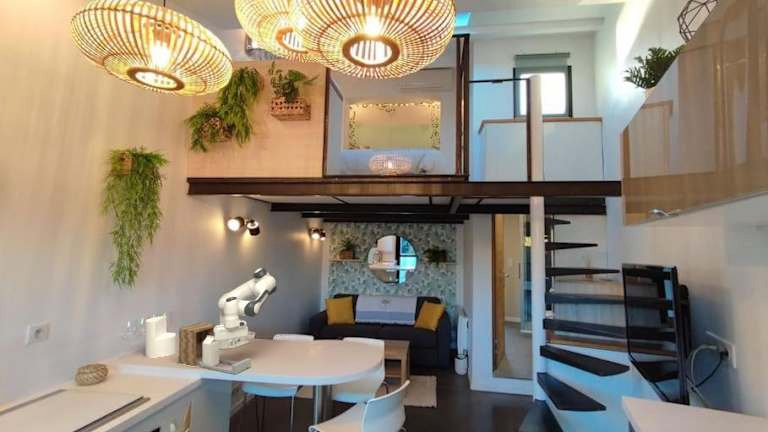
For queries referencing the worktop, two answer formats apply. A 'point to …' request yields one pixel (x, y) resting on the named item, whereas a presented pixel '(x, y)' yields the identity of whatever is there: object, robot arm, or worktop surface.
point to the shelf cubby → (193, 342)
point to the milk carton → (210, 351)
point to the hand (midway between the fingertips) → (231, 345)
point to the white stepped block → (159, 338)
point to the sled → (235, 368)
